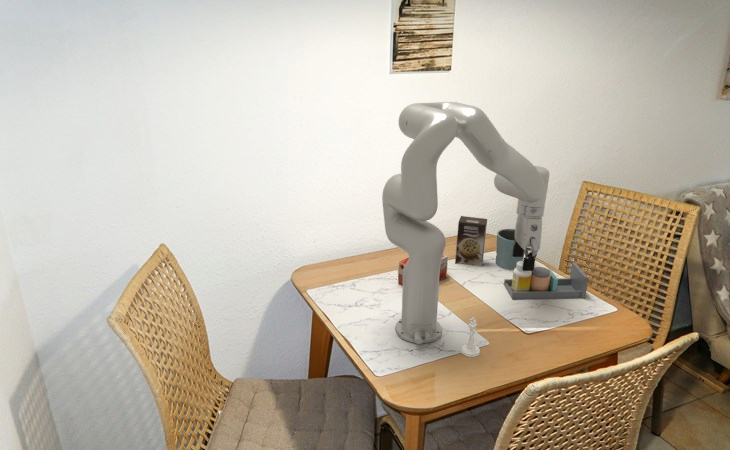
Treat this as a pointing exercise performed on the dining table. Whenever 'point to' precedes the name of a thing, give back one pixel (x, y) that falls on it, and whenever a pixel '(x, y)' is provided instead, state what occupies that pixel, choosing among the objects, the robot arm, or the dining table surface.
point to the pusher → (553, 282)
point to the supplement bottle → (521, 279)
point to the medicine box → (441, 276)
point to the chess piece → (471, 342)
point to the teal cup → (506, 249)
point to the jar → (540, 279)
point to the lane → (565, 288)
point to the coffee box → (470, 241)
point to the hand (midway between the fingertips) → (522, 263)
